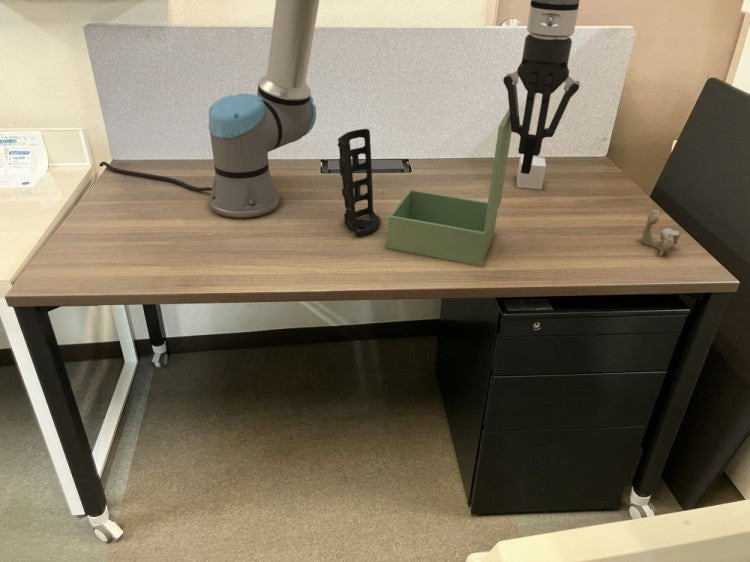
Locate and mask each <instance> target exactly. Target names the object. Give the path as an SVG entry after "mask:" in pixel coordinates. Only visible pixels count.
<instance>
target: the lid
mask: <svg viewBox="0 0 750 562" xmlns="http://www.w3.org/2000/svg"><path fill="white" fill-rule="evenodd" d="M512 134H513V132H512V131H511V122H510V111H509V109H508V110H507V111H506V113H505V115H504V116H503V118H502V120H501V122H500V124H499V125H498V130H497V137H496V144H495V152H494V158H493V165H492V173H491V180H490V185H489V186H490V187H489V193H488V200H487V202H488V207H487V214H486V221H485V228H484V231H485V232H488V231H489V229H490V227H491V224H492V222H493V220H494V217H495V215H496V213H497V214H498V211H499V208H500V206H501V203H502V197H503V192H504V191H503V190H504V185H505V179H506V172H507V165H508V159H509V151H510V146H511V138H512ZM497 210H498V211H497Z"/></svg>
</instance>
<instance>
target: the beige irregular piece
mask: <svg viewBox="0 0 750 562" xmlns="http://www.w3.org/2000/svg"><path fill="white" fill-rule="evenodd" d="M660 214H661V213H660V211H659V210H658V209H652V210H650V211H649V213H648V215H647V221H646V223H645V226H644V229H643V231H642V236H641V243H642V244H643V245H646V246H650V247H653V248H656V249H658V250H659V252H660V253H659V256H660V257H662V256H663V255H664V253H667V252H669V250H671V249H672V248H673V247H674V245H678V241H679V238H680V237H681V233H680V230H674V229H672V228H670V227H666V228H664V229H662V230H661V232H660V235H659V239H660V240H658V239H657V238H655V236H654V235H653V234H652V228H653V225H656V224H657V223H658V221H659V220H660Z"/></svg>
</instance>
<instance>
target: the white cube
mask: <svg viewBox="0 0 750 562" xmlns="http://www.w3.org/2000/svg"><path fill="white" fill-rule="evenodd" d="M523 157H524V155H520V156H519V161H518V169H517V174H516V187H517V188H522V189H534V190H543V184H544V179H545V175H546V174H545V173H546V169H547V164H546V159H545V157H539V156H533V160H532V165H531V170H530V173H529V174H524V173H521V169H522V163H523Z"/></svg>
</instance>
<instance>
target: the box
mask: <svg viewBox="0 0 750 562" xmlns="http://www.w3.org/2000/svg"><path fill="white" fill-rule="evenodd" d="M487 207H488V201H484V200H483V201H482V200H476V199H471V198H464V197H459V196H452V195H447V194H446V195H445V194H441V193H434V192H428V191H423V190H416V189H408V190H407V192H406V193H405V194H404V196H403V197H402V198H401V200H400V201H399V202H398V203H397V204H396V206H395V207H394V208H393V210H392V211H391V213H389V215H388V219H387V220H388V221H387V242H386V243H387V245H386V249H390V250H396V251H400V252H406V253H411V254H417V255H421V256H427V257H431V258H437V259H442V260H447V261H451V262H458V263H463V264H467V265H472V266H473V265H474V266H477V267H482V266H483V263H484V260H485V257H486V255H487V253H488V250H489V248H490V245H491V243H492V240H493V238H494V235H495V230H496V224H497V217H498V211H499V209H498V210H497V213H496V215H495V217H494V220H493V222H492V224H491V227H490V229H489V231H488V232H485V231H484V228H485V221H486V214H487Z"/></svg>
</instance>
